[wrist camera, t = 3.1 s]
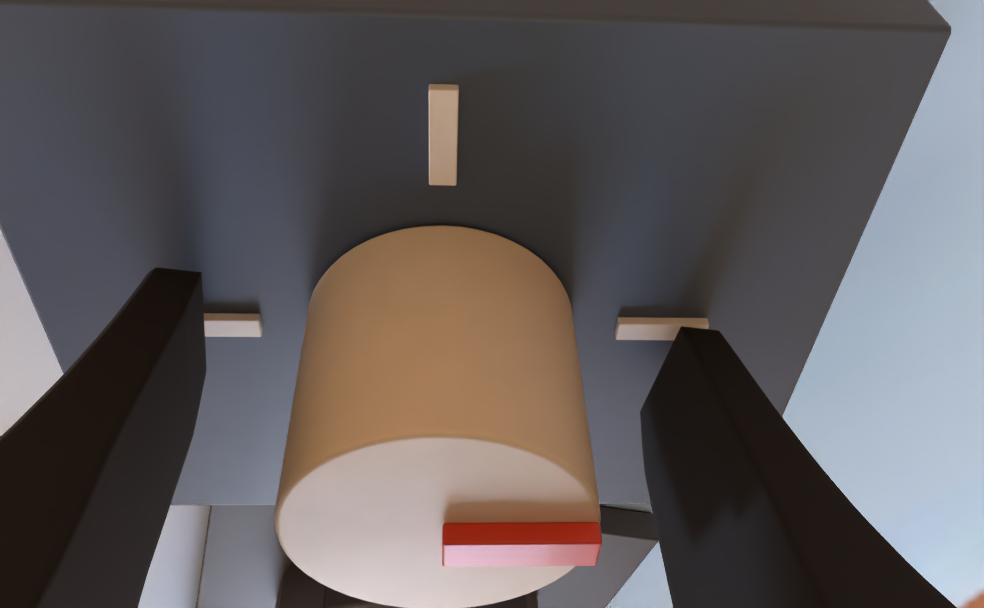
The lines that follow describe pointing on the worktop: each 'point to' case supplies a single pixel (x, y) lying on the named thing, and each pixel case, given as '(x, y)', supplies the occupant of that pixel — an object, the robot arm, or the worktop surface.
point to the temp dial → (438, 426)
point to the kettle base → (309, 604)
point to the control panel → (452, 175)
